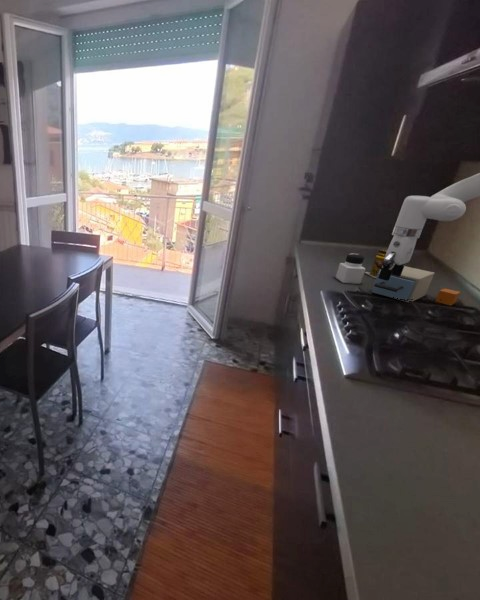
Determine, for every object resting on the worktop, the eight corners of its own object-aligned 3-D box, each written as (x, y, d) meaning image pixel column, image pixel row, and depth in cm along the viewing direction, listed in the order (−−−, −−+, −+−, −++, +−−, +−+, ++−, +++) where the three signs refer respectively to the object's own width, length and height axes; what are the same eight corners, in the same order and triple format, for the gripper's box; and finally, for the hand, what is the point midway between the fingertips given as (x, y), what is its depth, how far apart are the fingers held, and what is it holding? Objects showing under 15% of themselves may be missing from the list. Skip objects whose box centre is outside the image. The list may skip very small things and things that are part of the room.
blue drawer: (398, 304, 131) (406, 285, 128) (363, 294, 140) (370, 276, 137) (420, 294, 141) (428, 275, 137) (386, 285, 150) (393, 267, 146)
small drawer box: (409, 302, 135) (419, 279, 131) (371, 292, 145) (379, 269, 141) (425, 295, 142) (434, 272, 138) (387, 285, 152) (395, 264, 148)
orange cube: (455, 303, 135) (460, 292, 133) (451, 305, 133) (456, 294, 131) (439, 299, 139) (444, 288, 137) (435, 301, 136) (439, 290, 135)
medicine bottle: (361, 284, 154) (370, 257, 149) (342, 283, 155) (351, 256, 150) (352, 278, 160) (360, 252, 155) (335, 277, 161) (342, 252, 156)
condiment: (375, 278, 160) (384, 252, 156) (362, 272, 168) (370, 247, 163) (391, 278, 160) (401, 252, 156) (377, 272, 168) (386, 247, 163)
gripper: (409, 237, 119) (390, 284, 126) (429, 231, 127) (411, 276, 134) (383, 232, 125) (366, 278, 132) (404, 227, 133) (387, 270, 140)
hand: (389, 277), depth 133 cm, fingers open, 9 cm apart
